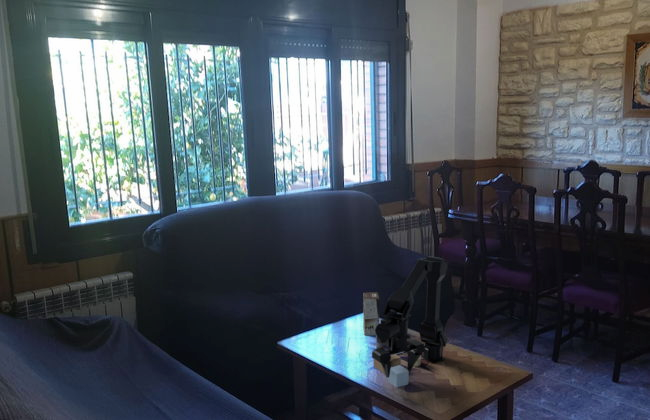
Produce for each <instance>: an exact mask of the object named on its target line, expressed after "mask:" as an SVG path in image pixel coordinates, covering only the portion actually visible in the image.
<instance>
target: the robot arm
mask: <svg viewBox="0 0 650 420" xmlns="http://www.w3.org/2000/svg"><path fill="white" fill-rule="evenodd" d="M448 266H449V265H448V262H447V260H446V259H445V258H444V257H443V258H442V257H441V258H440V257H437V256H432V255H429V256H426V258H419V259H416V261H415V265H414V267H413V269H412V270H411V271H410V273H409V275H408V277H407V278H406V280H405V281H404V283H402V285H401V287H400V288H398V289H396V290H394V291H393V293H392V294H391V295H390V296H389V298H388V299H387V302H386V305H385V307H384V310H383V311H382V312H383V313H382V317H384V318H381V319H380V322H379V324H378V325H377V326H376V329H375V332H376V335H377V343H378V344H382V345H387V347H388V350H387V349H386V348H375V349H373V350H372V352H371V358H372V359H373V360H374V359H375V360H377V361H378V362H380V363H381V364H382V366H383V369H384V372H385V374H384V375H385V377H386V378H387V379H388V378H389V375H390V369H391V361H390V360H391V356H392V355H399V354H402V353H406V354H407V370H408V371H409V373H410V372H412V370H413V368H414V364H415V363H416V361H417V360H418V358H419V357H420V355H421V358H422V359H424V360H425V361H428V362H430V363H431V364H435V363H437V362H442V361H445V360H446V357H444V356H443V355H444V354H443V353H444V348H445V347H446V346H447V344H448V337H447V336H446V334H445V333H444V325H443V323H442V321H441V320H440V310H441V309H440V306H441V287H442V280H443V279H444V278H445V276H446V275H447V270H448ZM424 279H426V282H427V284H426V286H427V287H426V302H425V303H426V305H425V306H426V309H425V318H424V320H423V321H422V322H421V323H420V324H419V337H420V341H419V340H418V339H412V340H410V339H411V335H410V334H409V333H408V332H409V318H410V317H411V316H412V314H411V313H410V312H411V310H412V308H413V305H414V304H415V303H414V296H415V294H416V292H417V291H418V289H419V288H420V286H421V284H422V283H423V281H424ZM376 335H375V336H376ZM408 339H409V340H408Z"/></svg>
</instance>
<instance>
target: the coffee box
mask: <svg viewBox="0 0 650 420" xmlns="http://www.w3.org/2000/svg"><path fill="white" fill-rule="evenodd" d="M379 295H380V294H379V292H377V291H375V292H371V291H369V292H363V303H362V305H363V315H362V316H363V317H362V319H363V323H362V325H363V335H364V336H376V332H375V329H376V326H377V325H378V324H380V296H379Z"/></svg>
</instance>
